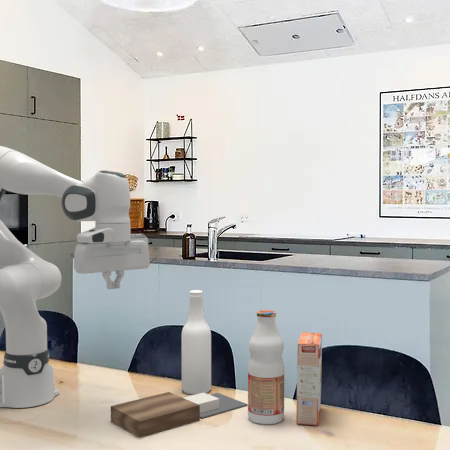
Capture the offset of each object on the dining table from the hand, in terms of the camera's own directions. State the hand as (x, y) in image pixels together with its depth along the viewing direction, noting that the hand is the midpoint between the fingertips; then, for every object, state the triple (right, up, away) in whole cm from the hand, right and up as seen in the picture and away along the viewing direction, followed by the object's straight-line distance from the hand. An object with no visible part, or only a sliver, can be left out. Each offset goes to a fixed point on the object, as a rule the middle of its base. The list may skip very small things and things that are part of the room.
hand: (113, 288), depth 152 cm
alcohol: (+20, -34, +26) cm, 47 cm away
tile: (+21, -33, +9) cm, 41 cm away
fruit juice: (+39, -34, +3) cm, 52 cm away
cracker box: (+51, -34, +4) cm, 61 cm away
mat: (+24, -34, +12) cm, 43 cm away
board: (+11, -34, +1) cm, 36 cm away
